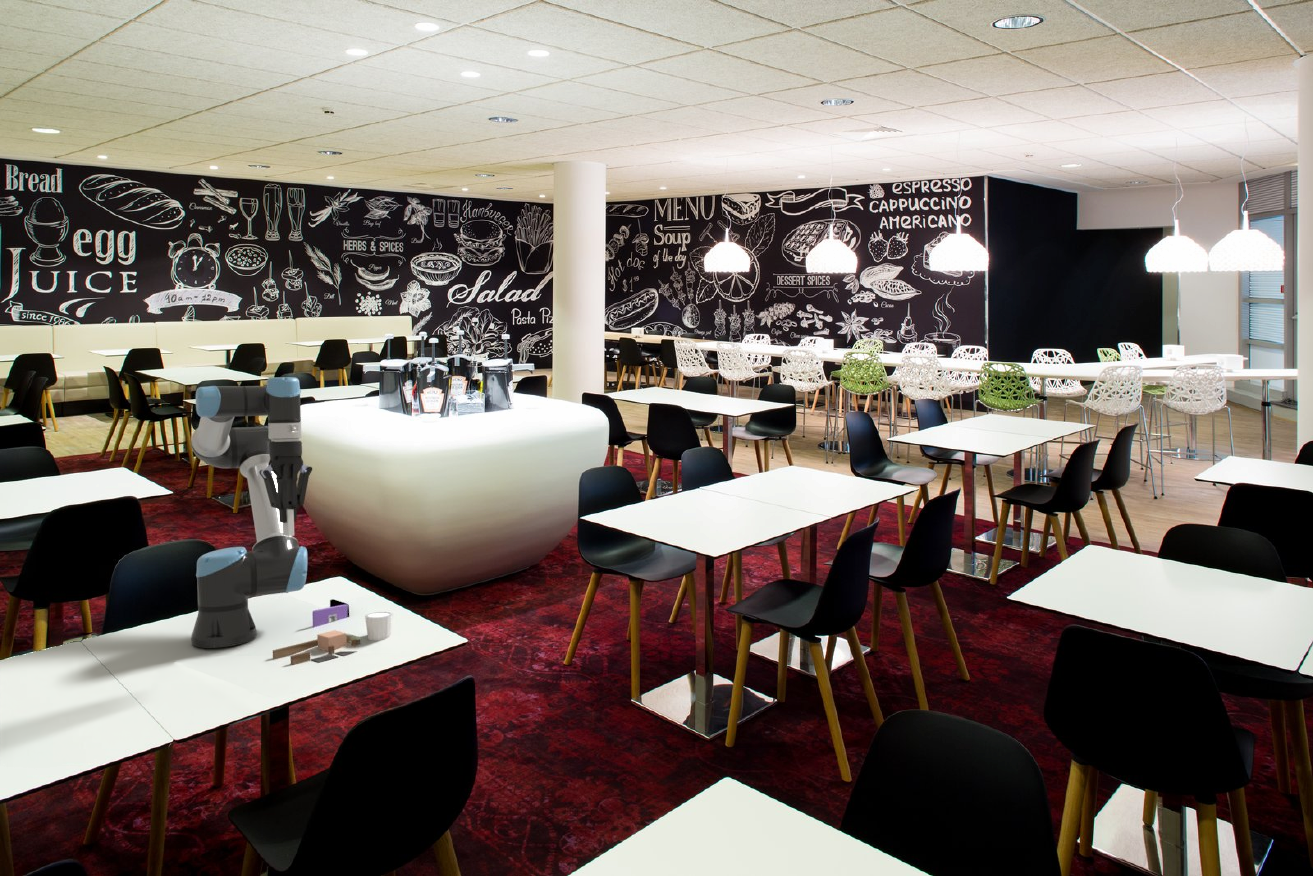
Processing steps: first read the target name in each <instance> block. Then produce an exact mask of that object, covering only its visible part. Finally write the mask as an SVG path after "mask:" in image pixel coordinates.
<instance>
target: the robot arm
mask: <svg viewBox="0 0 1313 876" xmlns="http://www.w3.org/2000/svg"><path fill="white" fill-rule="evenodd" d="M301 393H302V391H301V387H300V380H299V378H298V377H294V376H293V377H289V376H288V377H287V376H286V377H285V376H283V377H270V378H267V381H266V385H252V386H251V385H247V386H246V385H245V386H244V385H243V386H242V385H241V386H239V385H237V386H236V385H234V386H233V385H230V386H229V385H223V386H222V385H219V386H218V385H217V386H216V385H209V386H200V387H198V388H197V389H196V392H195V411H196V414H197V415H198V416H199V417H200V419H199V424H198V427H197V428H195V430H194V431H193V433H192V435H191V440H190V447H191V449H192V452H193V453H194V455H195V456H196V457H197V458H198V459H199V460H200V461H201V462H203V463H204V464H206V465H209V466H212V467H214V468H219V469H239V472H240V474H241V475H242V476H243V477H244V478H246V479H247V480H246V481H247V485H248V491H249V500H250V504H251V511H252V517H253V523H254V525H253V526H254V530H255V538H256V543H254V544H253V546H252V548H251V549H252V550H251V551H248V550H247V549H246V547H244V546H235V547H234V546H233V547H226V548H221V549H217V550H213V551H209V552H207V553H204V554H202V555H201V556H200V557H199V558H198V559H197V561H196V574H195V576H196V580H197V583H196V584H197V609H198V610H197V617H196V620H195V623H194V626H193V630H192V633H191V645H192V646H193V647H196V648H203V649H205V648H206V649H209V648H210V649H211V648H212V649H213V648H215V649H216V648H226V647H232V646H238V645H241V644H245V643H248V642H251V641H252V640H254V639H256V637H257V626H256V624H255V622H254V620H253V617H252V614H251V612H250V609H249V599H248V598H251V597H260V596H268V595H277V594H278V595H279V594H289V593H290V592H291V593H292V592H297V591H301V590H303V588H304V587H305V584H306V583H307V581H306V580H307V575H308V573H307V572H308V550H307V547H306V546H302V545H301V546H300V545H299V541H298V539H297V538H296V537H294V536H295V522H297V521H298V520H297V519H298V516H297V510H298V509H299V508H300V507H301V506H304V504H305V499H306V494H307V488H308V484H309V483H308V482H309V478H310V475H311V473H312V471H313V467H312V466H309V465H306V464H305V463H304V459H303V458H302V457H303V442H302V440H300V439H301V438H302V421H301V420H302V419H301V418H302V417H301V415H302V411H301ZM263 416H264V417H265V416H266V417H268V418H267V420H268V421H267V423H268V424H267V425H263V426H258V427H256V426H255V427H254V426H252V427H251V426H250V427H249V426H248V427H247V426H246V427H232V426H233V422H234V419H235V417H263ZM298 474H299V476H298Z"/></svg>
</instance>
